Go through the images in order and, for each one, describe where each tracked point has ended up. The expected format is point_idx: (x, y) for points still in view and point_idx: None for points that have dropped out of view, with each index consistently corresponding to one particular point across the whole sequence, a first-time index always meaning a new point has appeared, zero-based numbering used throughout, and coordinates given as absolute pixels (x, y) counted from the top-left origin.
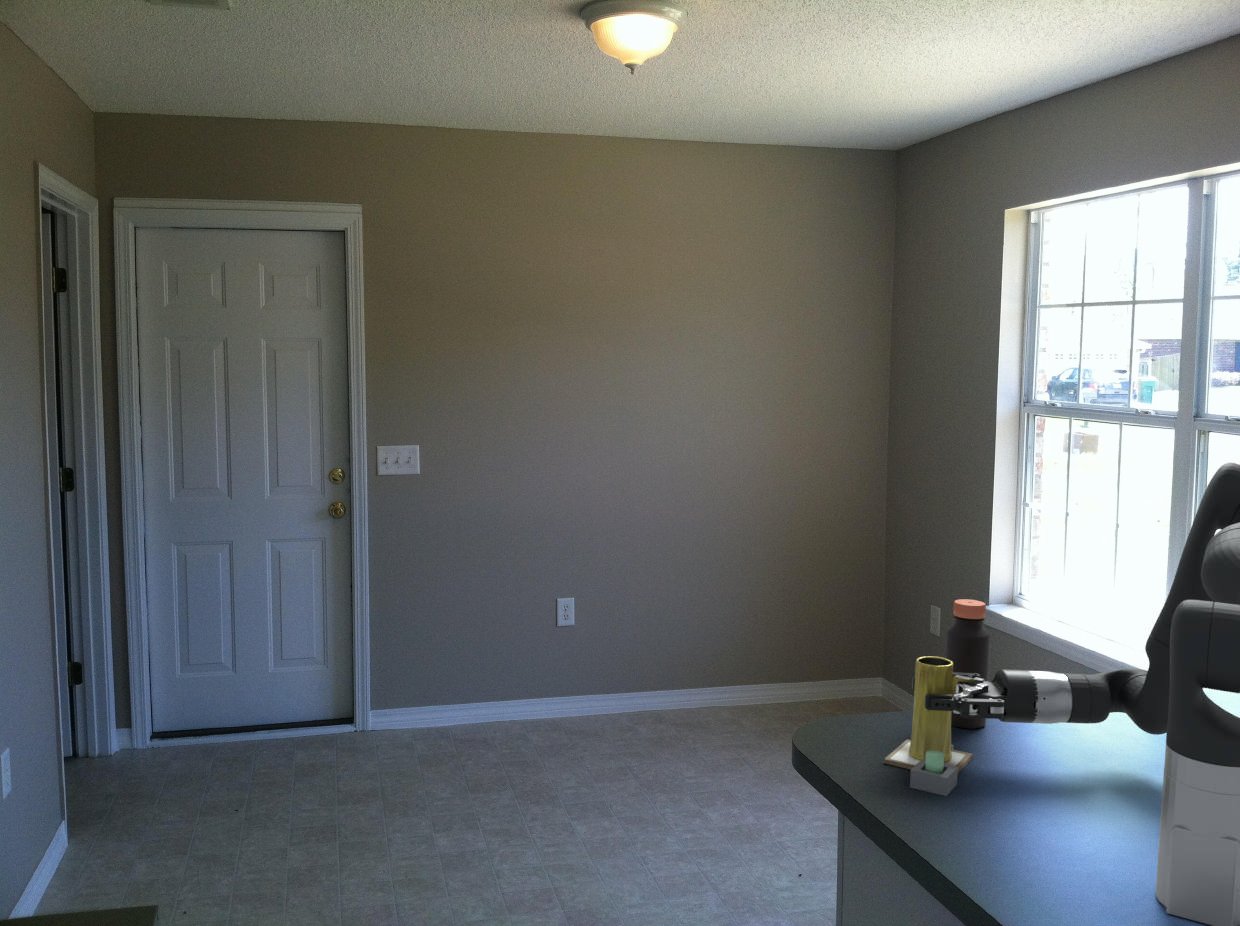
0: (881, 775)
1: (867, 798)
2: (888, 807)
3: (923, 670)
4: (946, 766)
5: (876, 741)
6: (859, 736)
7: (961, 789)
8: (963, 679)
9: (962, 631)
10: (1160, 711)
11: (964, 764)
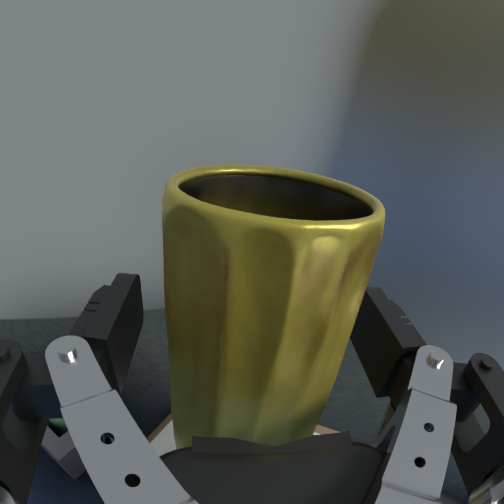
0: (139, 365)
1: (58, 323)
2: (24, 335)
3: (209, 198)
4: (65, 436)
5: (333, 388)
6: (349, 364)
7: (48, 475)
8: (393, 443)
9: None
10: None
11: None
